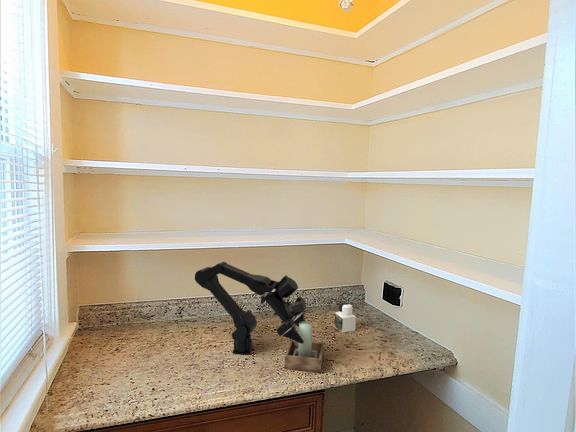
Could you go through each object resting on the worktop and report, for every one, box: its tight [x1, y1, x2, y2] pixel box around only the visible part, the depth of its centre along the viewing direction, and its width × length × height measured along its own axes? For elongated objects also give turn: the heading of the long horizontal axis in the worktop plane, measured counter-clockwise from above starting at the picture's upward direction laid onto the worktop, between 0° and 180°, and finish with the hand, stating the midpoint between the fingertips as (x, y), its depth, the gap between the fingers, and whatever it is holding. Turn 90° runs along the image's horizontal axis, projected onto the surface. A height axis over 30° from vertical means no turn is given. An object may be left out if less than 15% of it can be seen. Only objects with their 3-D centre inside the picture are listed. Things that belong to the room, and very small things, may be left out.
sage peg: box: [298, 320, 313, 358], centre depth 131 cm, size 5×5×14 cm
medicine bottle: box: [334, 302, 357, 334], centre depth 161 cm, size 7×7×12 cm
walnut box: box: [284, 339, 325, 374], centre depth 131 cm, size 13×13×5 cm
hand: (306, 337), depth 130 cm, fingers open, 9 cm apart
